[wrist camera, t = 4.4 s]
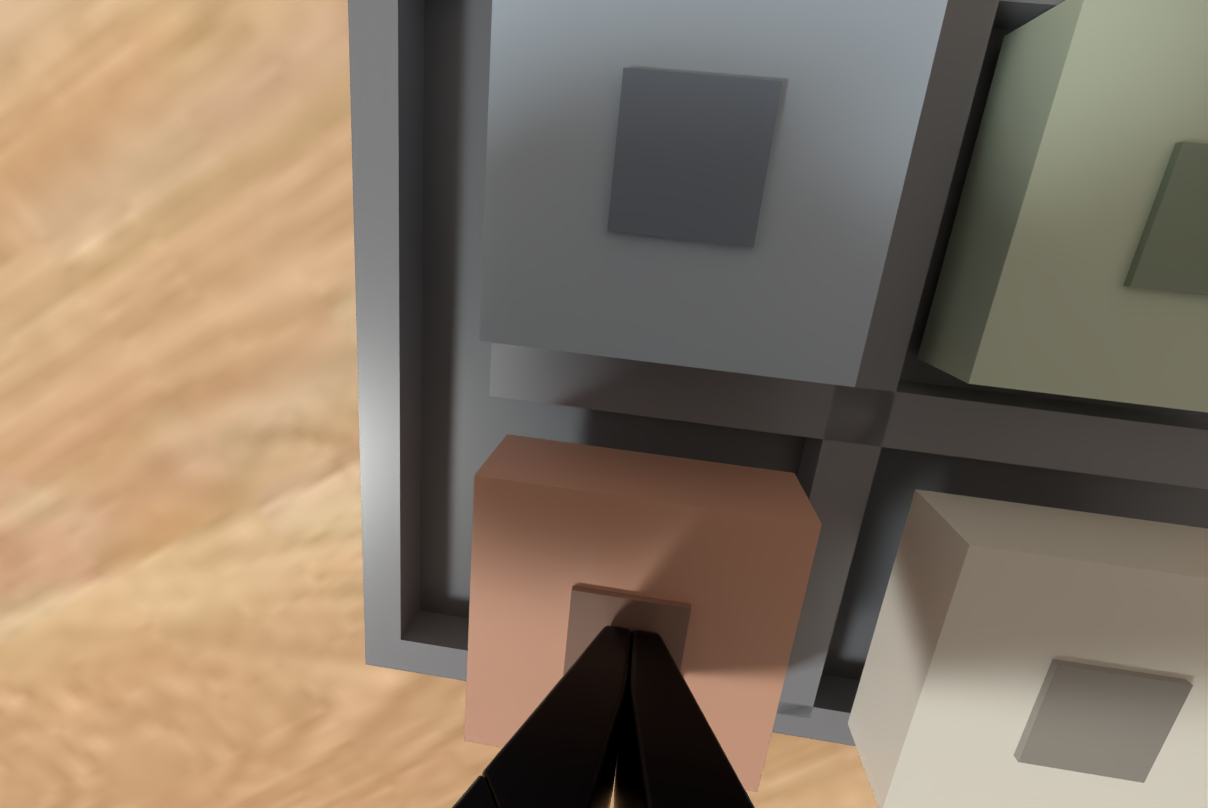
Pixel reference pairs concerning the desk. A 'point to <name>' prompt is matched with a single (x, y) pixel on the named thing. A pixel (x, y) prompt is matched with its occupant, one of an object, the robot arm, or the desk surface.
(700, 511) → the key terracotta
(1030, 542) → the key ivory
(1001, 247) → the key sage
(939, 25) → the key slate
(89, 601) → the desk surface
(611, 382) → the grey compartment tray
